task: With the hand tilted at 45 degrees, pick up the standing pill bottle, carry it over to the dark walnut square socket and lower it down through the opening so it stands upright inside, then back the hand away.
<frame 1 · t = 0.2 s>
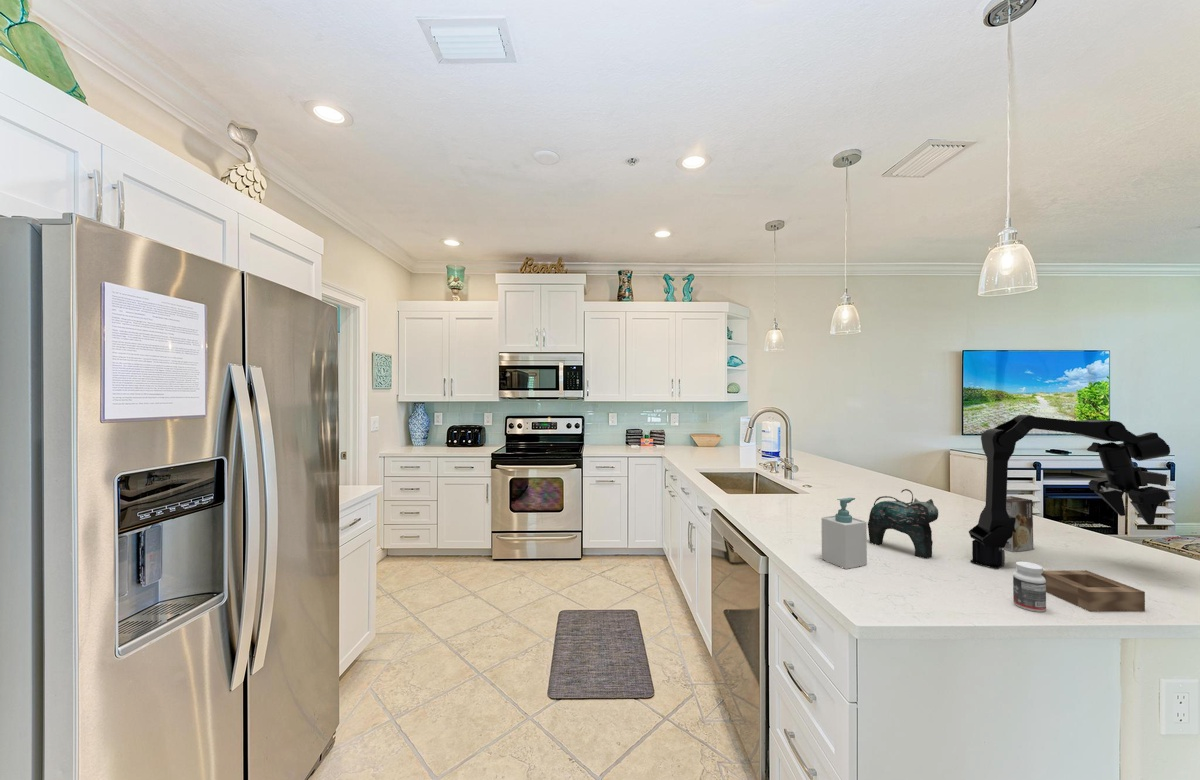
hand: (1136, 520, 126), 15 cm above the table, tool pointing down, fingers open, 9 cm apart
soap bottle: (844, 563, 138), on the table
walnut socket: (1087, 598, 113), on the table
ceramic cat: (900, 551, 148), on the table
pill bottle: (1029, 607, 109), on the table
coffee box: (1012, 548, 149), on the table
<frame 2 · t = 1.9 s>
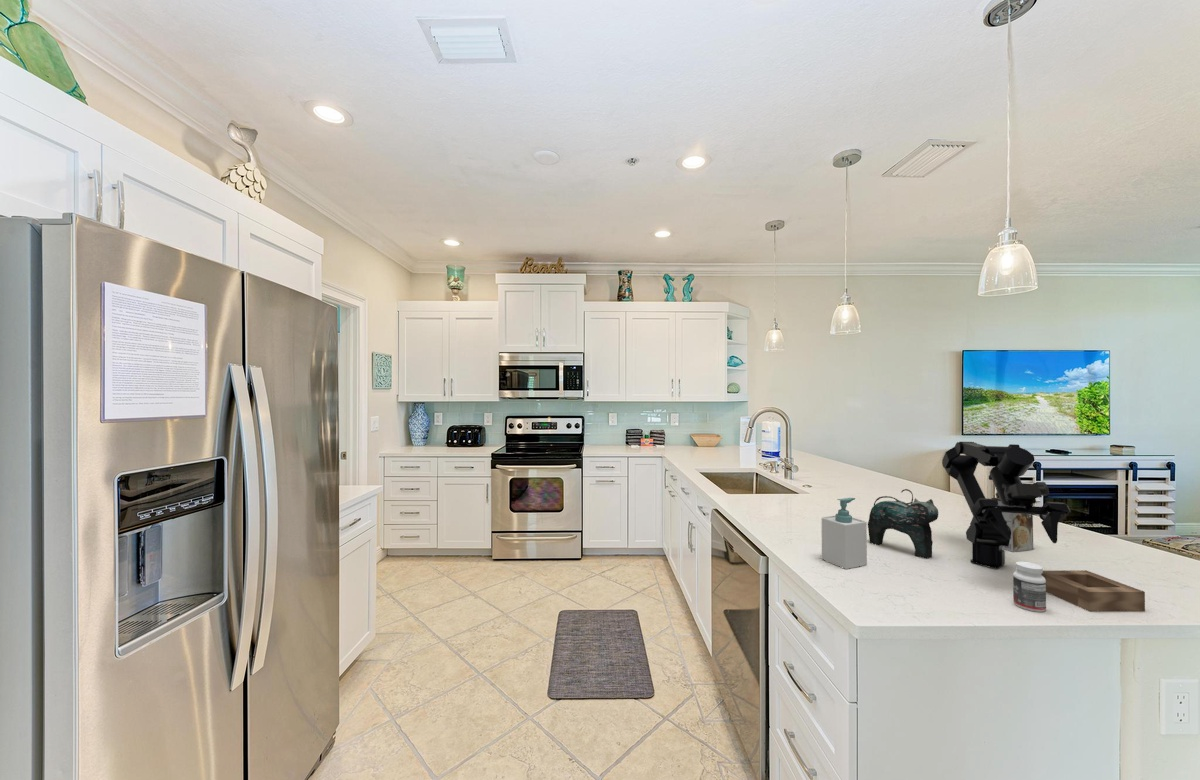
hand: (1032, 540, 114), 14 cm above the table, tool tilted 40°, fingers open, 9 cm apart
nothing on the table moved.
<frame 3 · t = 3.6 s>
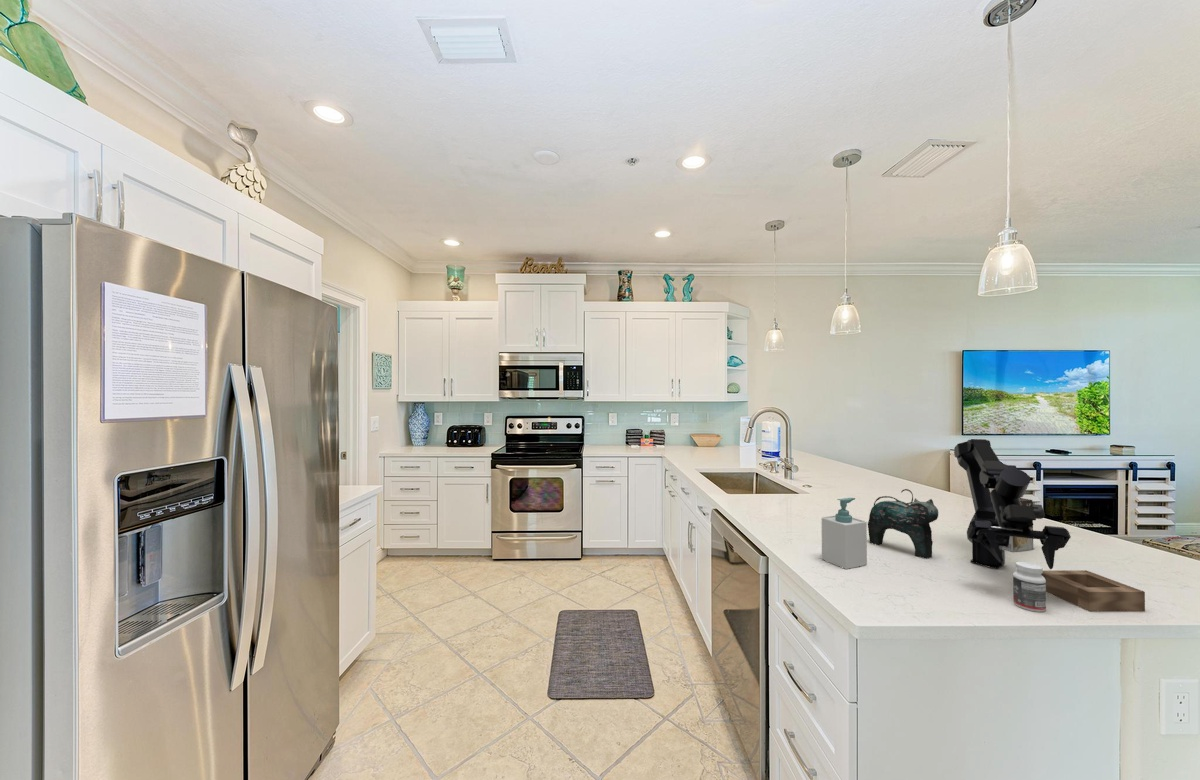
hand: (1026, 565, 110), 9 cm above the table, tool tilted 45°, fingers open, 9 cm apart
nothing on the table moved.
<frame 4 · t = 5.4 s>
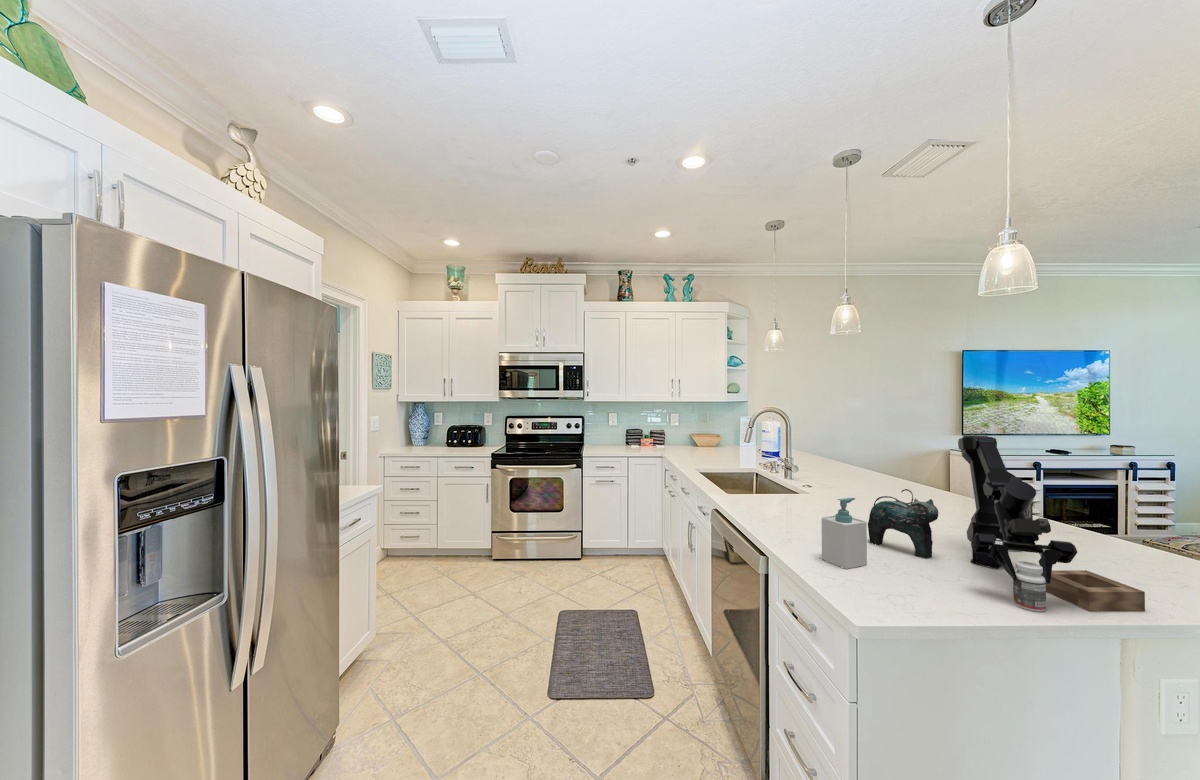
hand: (1031, 581, 107), 7 cm above the table, tool tilted 45°, fingers closed on pill bottle, 6 cm apart
pill bottle: (1029, 607, 109), on the table, touching gripper
everything else where it was.
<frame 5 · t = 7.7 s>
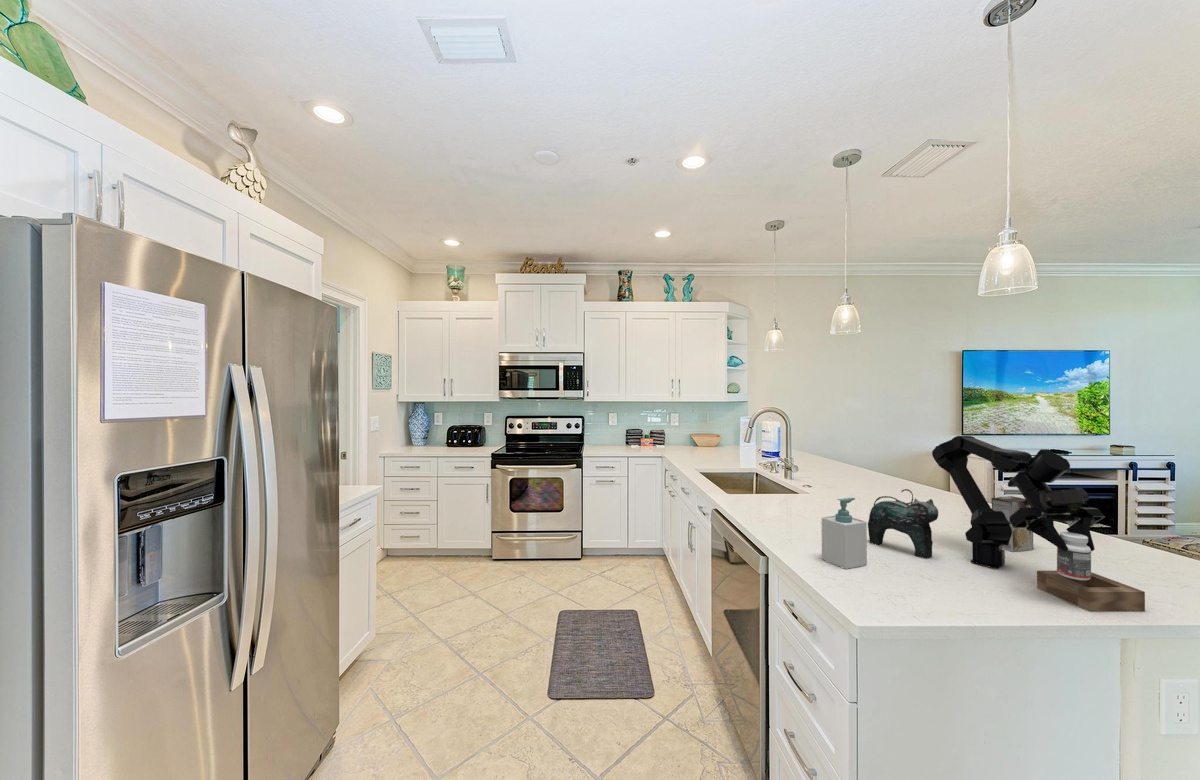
hand: (1079, 550, 109), 13 cm above the table, tool tilted 45°, fingers closed on pill bottle, 6 cm apart
pill bottle: (1073, 576, 110), point 6 cm above the table, touching gripper
everything else where it was.
when the fingers open (8 cm above the table, at t = 10.4 s): pill bottle drops 1 cm, resting in walnut socket.
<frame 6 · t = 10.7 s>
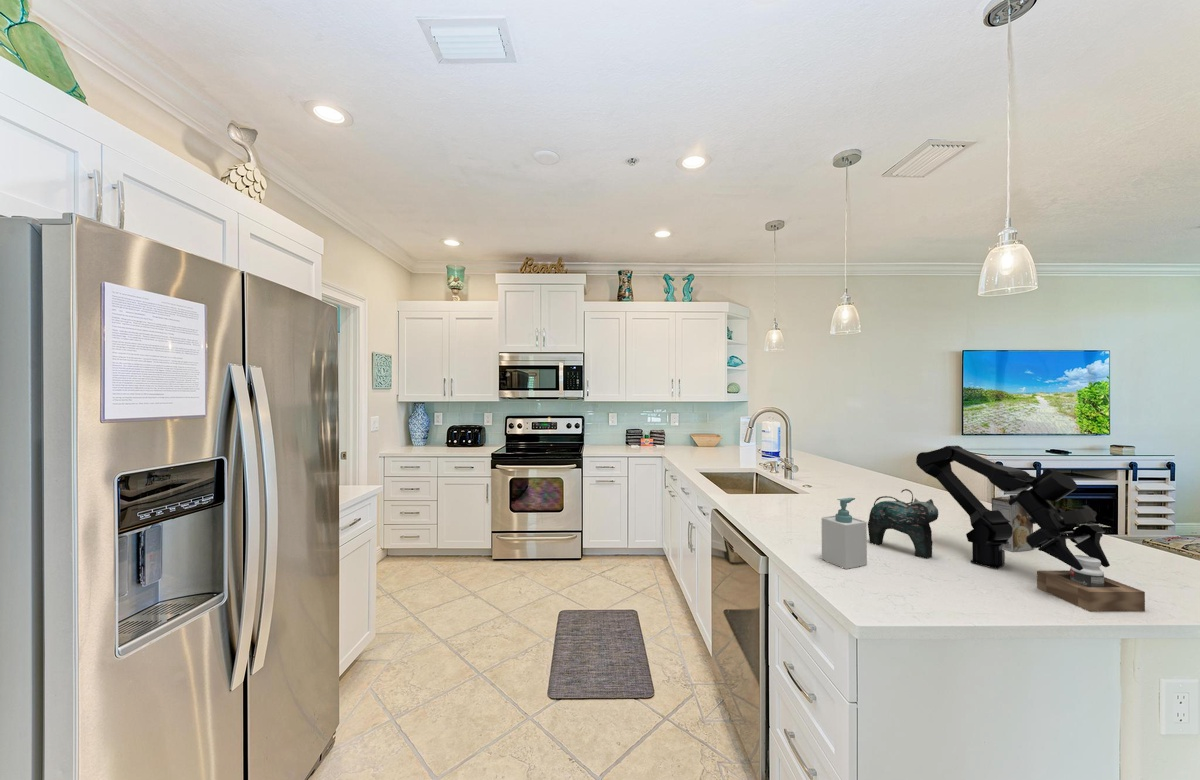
hand: (1094, 568, 111), 8 cm above the table, tool tilted 45°, fingers open, 8 cm apart
pill bottle: (1087, 599, 113), resting in walnut socket
everything else where it was.
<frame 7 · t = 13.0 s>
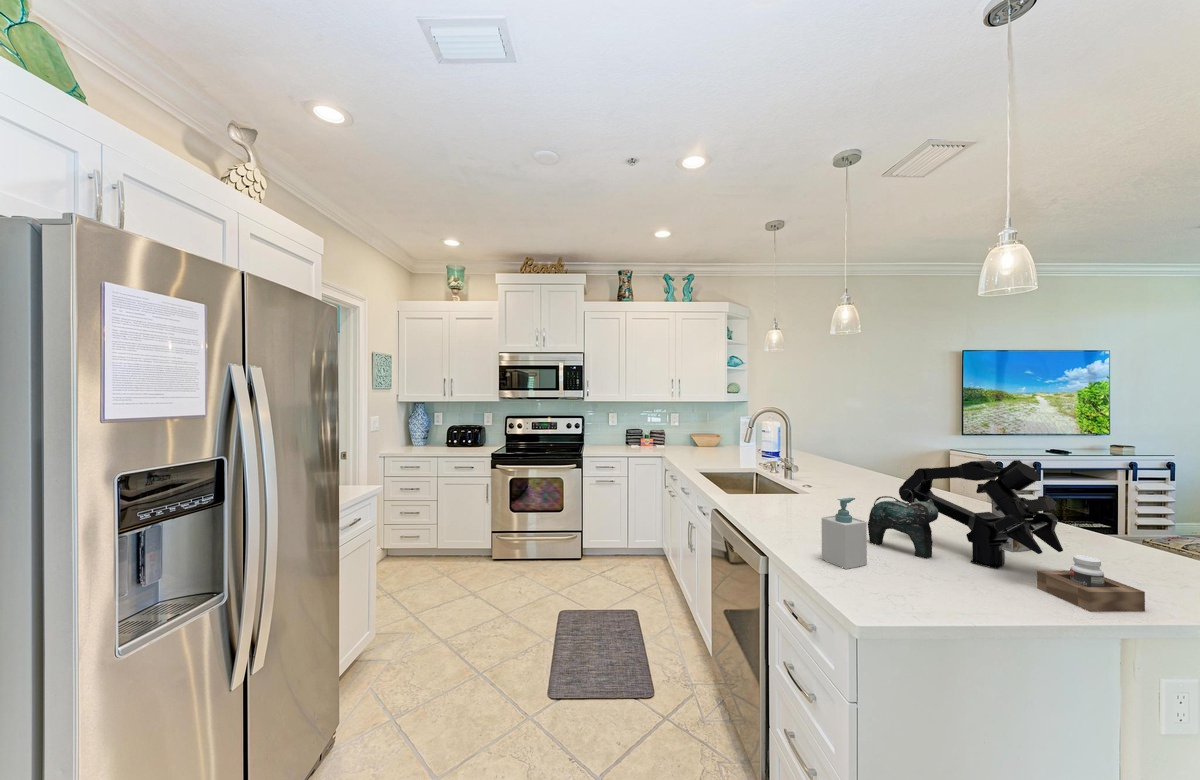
hand: (1051, 552, 121), 9 cm above the table, tool tilted 40°, fingers open, 9 cm apart
nothing on the table moved.
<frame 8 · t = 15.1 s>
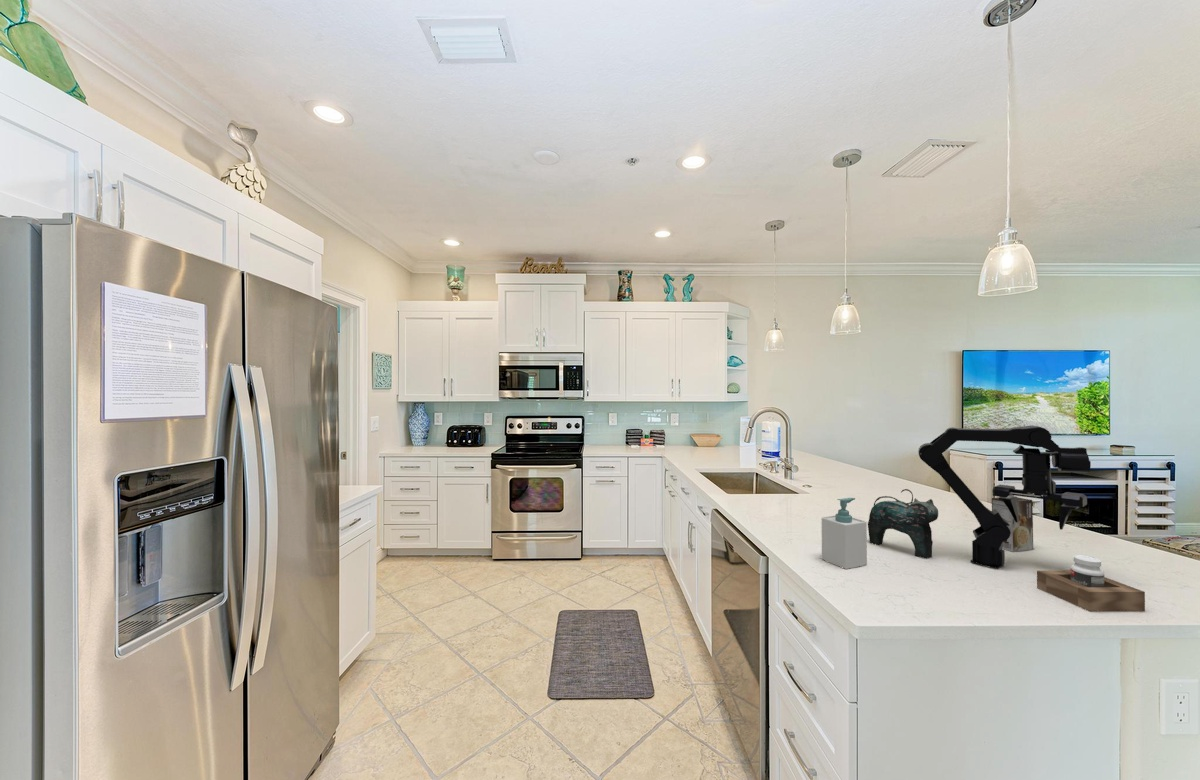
hand: (1038, 525, 130), 13 cm above the table, tool pointing down, fingers open, 9 cm apart
nothing on the table moved.
at the end: pill bottle 0.1 cm off-centre on the walnut socket, point 0.0 cm above the walnut socket's base; pill bottle tilted 0°; the gripper is holding nothing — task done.
